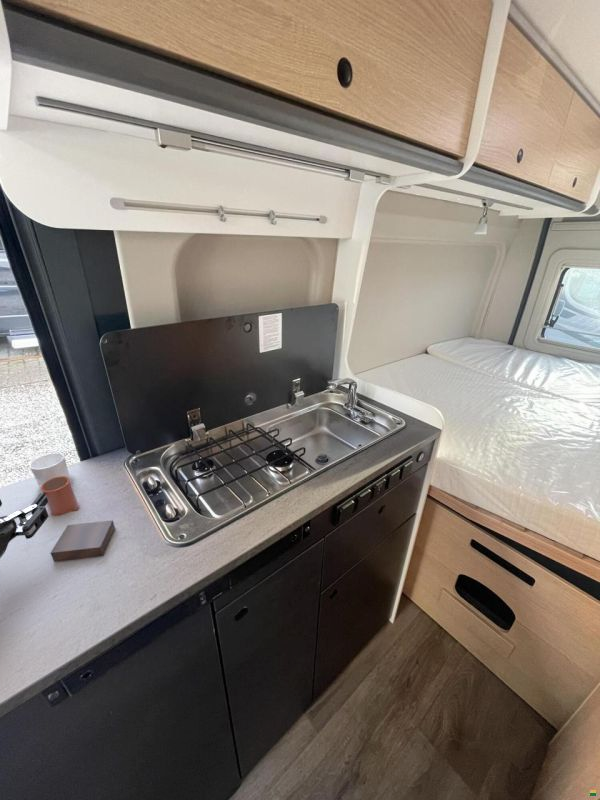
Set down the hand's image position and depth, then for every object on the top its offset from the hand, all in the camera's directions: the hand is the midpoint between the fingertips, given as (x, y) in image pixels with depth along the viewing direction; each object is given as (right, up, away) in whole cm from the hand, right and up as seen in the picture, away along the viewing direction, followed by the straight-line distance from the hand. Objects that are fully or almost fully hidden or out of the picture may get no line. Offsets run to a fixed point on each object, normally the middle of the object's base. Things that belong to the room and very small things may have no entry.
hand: (21, 498), depth 68 cm
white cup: (-12, -6, +27) cm, 30 cm away
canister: (-4, -9, +19) cm, 22 cm away
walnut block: (+9, -14, +8) cm, 18 cm away
